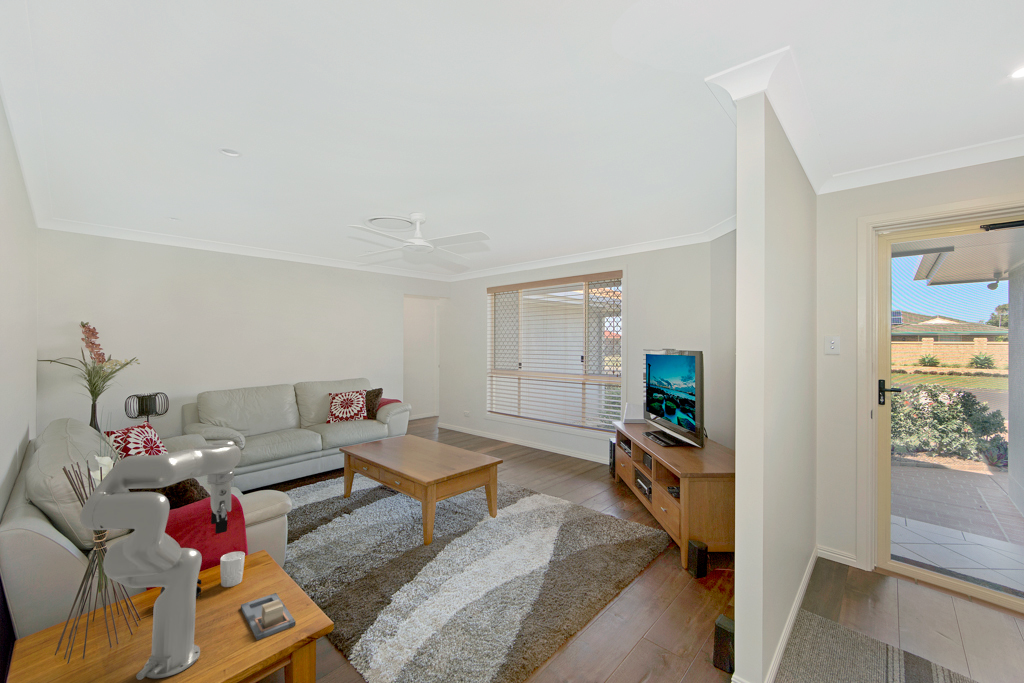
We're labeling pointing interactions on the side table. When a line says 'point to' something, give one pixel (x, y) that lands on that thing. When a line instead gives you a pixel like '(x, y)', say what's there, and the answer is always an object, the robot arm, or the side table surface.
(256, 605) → the grey slotted tray
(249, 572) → the side table surface
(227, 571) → the white cup
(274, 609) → the birch block
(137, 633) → the side table surface
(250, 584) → the side table surface
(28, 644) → the side table surface
